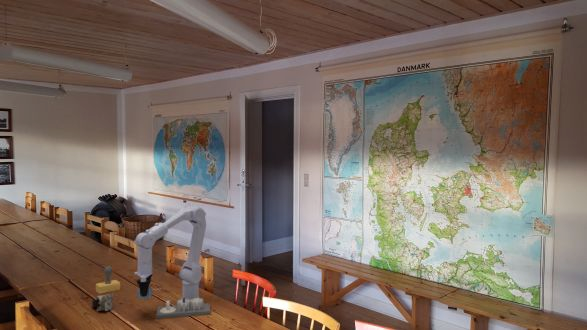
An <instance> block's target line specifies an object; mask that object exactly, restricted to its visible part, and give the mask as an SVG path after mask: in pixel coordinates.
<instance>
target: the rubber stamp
mask: <svg viewBox="0 0 587 330" xmlns="http://www.w3.org/2000/svg"><path fill="white" fill-rule="evenodd" d="M112 270H113V269H112V267H111V266H105V268H104V270H103V273H104V275H105V278H106V281H102V282H99V283H96V284H95V292H96V293H98V294H99V295H100V294H107V293H111V292H115V291H119V290H121V282H120V281H118V280H117V279H114V280H110V278H111V275H112V272H113V271H112Z"/></svg>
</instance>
